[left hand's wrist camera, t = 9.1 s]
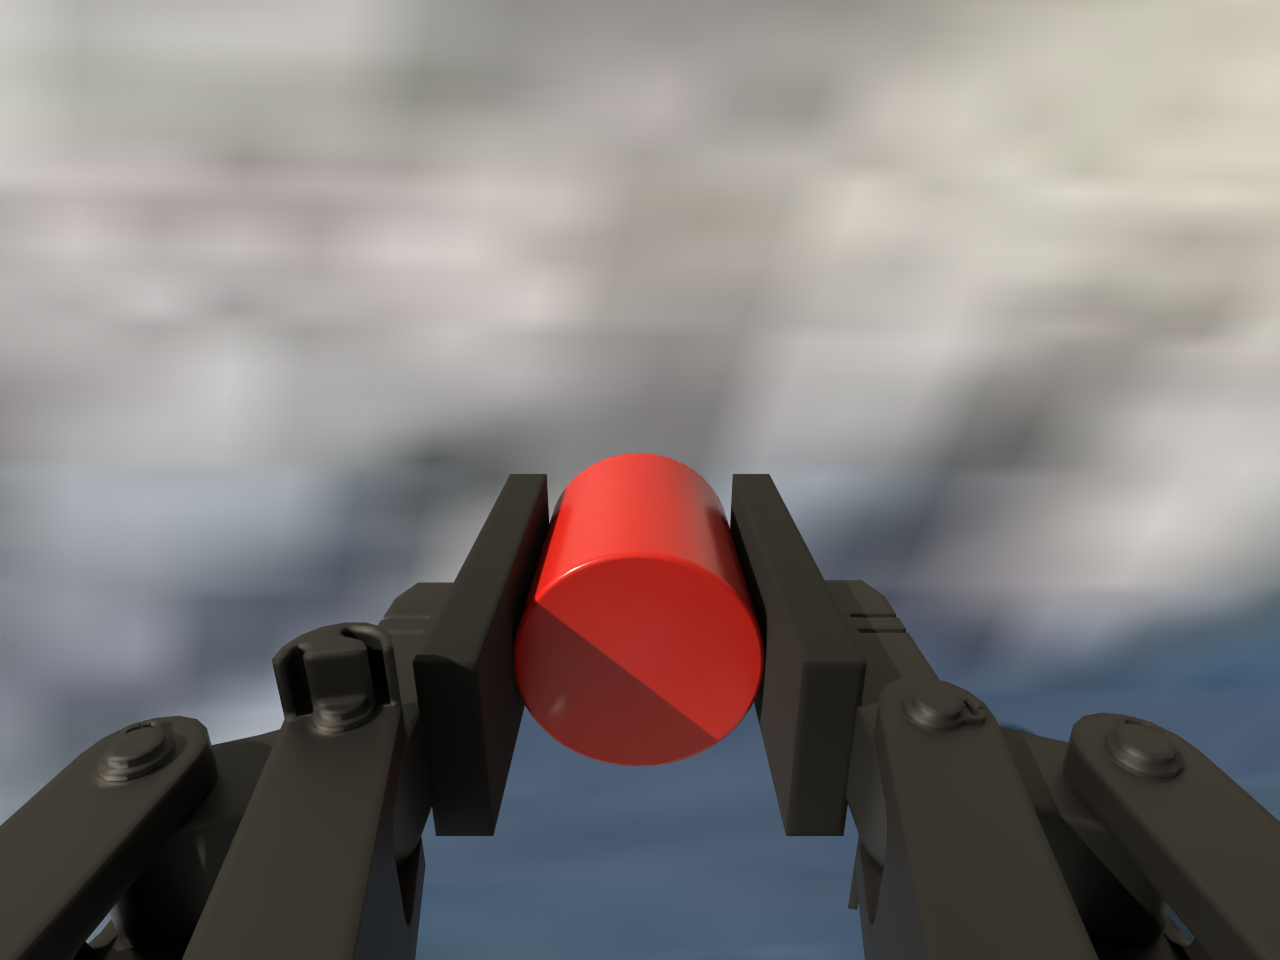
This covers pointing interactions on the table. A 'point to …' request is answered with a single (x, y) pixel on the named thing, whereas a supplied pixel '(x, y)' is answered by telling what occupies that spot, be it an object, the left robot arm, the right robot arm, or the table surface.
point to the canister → (638, 617)
